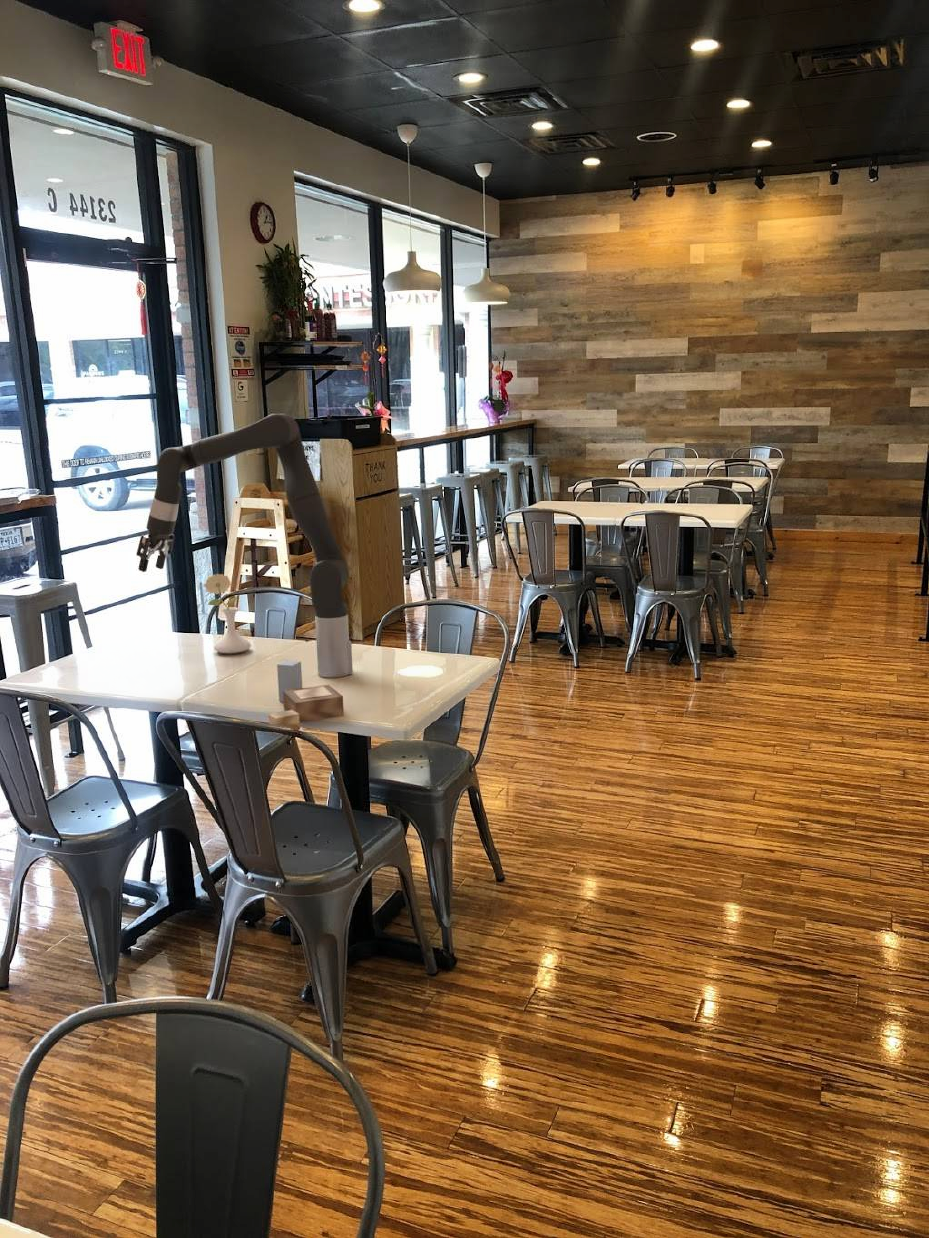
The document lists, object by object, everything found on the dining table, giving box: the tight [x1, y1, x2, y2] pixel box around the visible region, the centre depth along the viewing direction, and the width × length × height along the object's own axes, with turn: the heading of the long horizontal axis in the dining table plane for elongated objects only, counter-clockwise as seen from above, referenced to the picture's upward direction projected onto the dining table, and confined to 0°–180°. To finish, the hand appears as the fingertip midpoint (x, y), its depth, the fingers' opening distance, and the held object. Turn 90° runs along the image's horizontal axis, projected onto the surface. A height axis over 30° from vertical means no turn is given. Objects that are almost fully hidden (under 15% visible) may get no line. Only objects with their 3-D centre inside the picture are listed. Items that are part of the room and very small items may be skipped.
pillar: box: [276, 660, 303, 703], centre depth 274 cm, size 4×4×10 cm
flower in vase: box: [203, 573, 252, 654], centre depth 327 cm, size 13×11×25 cm
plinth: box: [283, 684, 345, 723], centre depth 263 cm, size 12×12×5 cm
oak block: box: [268, 710, 301, 735], centre depth 250 cm, size 6×4×4 cm, turn 124°
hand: (150, 569), depth 302 cm, fingers open, 8 cm apart
